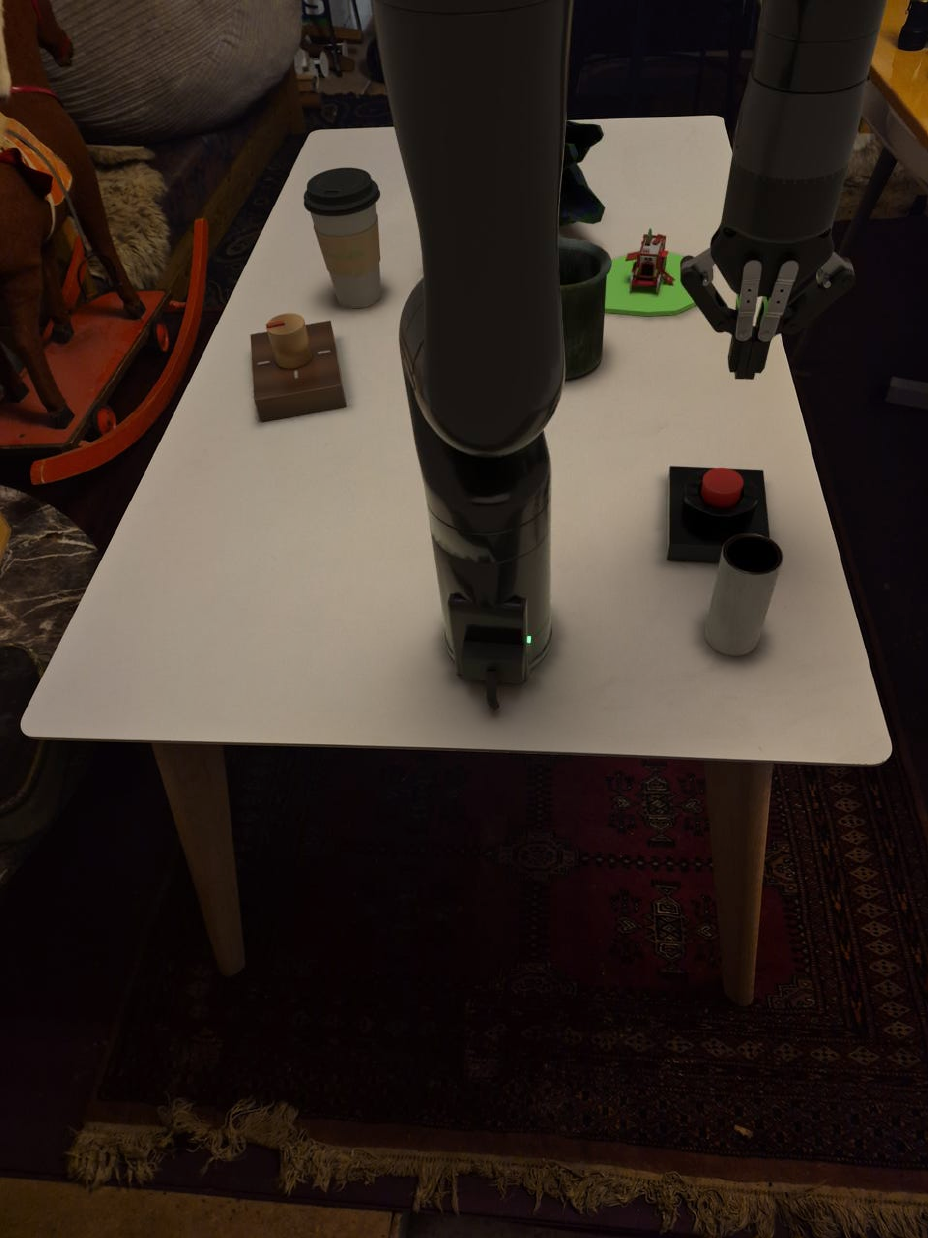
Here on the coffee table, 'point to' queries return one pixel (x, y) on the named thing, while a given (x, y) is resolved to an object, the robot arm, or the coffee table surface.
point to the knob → (289, 340)
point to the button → (721, 487)
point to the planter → (742, 593)
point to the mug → (582, 303)
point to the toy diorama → (647, 281)
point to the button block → (710, 515)
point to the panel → (297, 377)
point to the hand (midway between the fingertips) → (743, 373)
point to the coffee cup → (347, 232)
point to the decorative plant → (578, 176)
